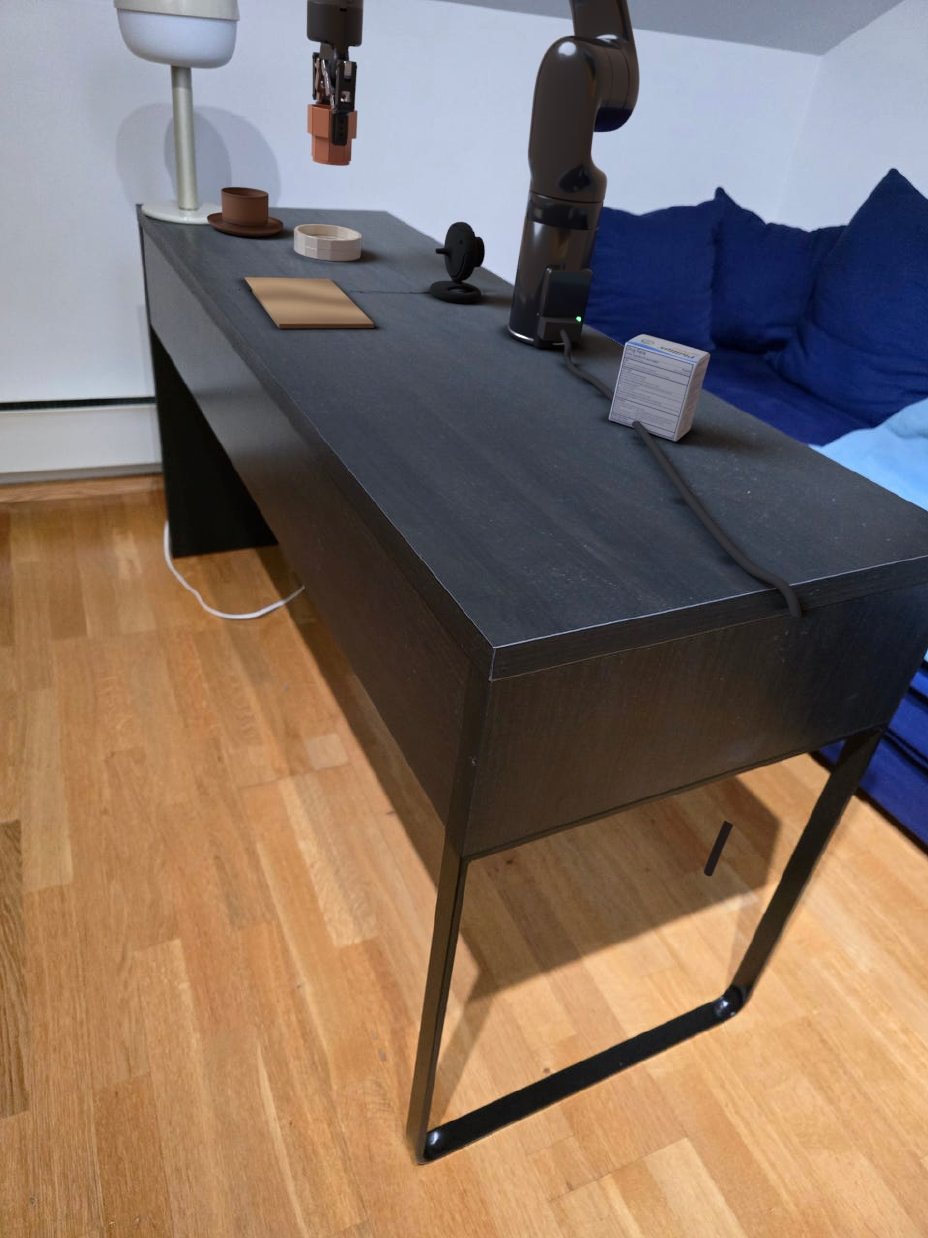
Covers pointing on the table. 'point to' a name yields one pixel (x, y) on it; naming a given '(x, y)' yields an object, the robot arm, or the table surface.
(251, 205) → the cup and saucer
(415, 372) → the table surface
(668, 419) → the medicine box
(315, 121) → the terracotta plant pot
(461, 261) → the webcam
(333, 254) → the cream bowl
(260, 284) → the oak mat
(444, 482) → the table surface
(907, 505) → the table surface
